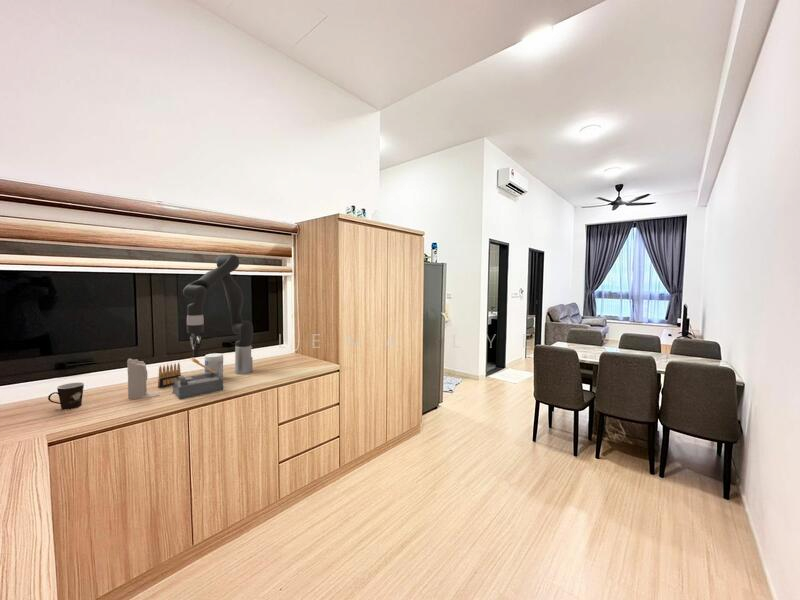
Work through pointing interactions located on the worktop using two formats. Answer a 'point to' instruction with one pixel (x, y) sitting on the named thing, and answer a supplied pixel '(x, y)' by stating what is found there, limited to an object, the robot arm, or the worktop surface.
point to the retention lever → (202, 365)
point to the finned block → (197, 385)
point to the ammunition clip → (168, 375)
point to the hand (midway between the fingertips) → (195, 356)
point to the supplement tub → (214, 363)
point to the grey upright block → (138, 380)
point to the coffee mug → (69, 395)
